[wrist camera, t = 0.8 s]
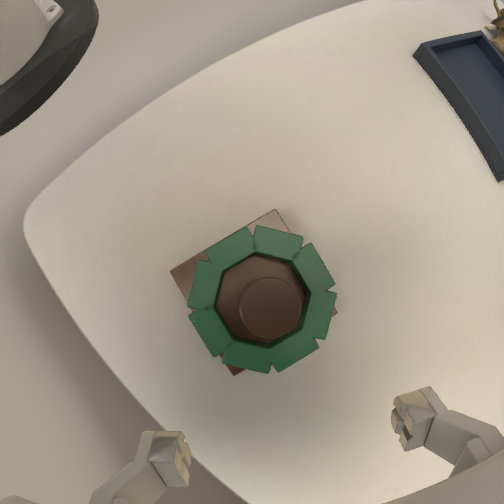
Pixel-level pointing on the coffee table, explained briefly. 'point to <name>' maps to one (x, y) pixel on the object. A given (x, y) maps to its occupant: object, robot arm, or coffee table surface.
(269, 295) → the peg stand
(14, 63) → the robot arm
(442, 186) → the coffee table surface
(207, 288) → the ring
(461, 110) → the tray
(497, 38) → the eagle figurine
